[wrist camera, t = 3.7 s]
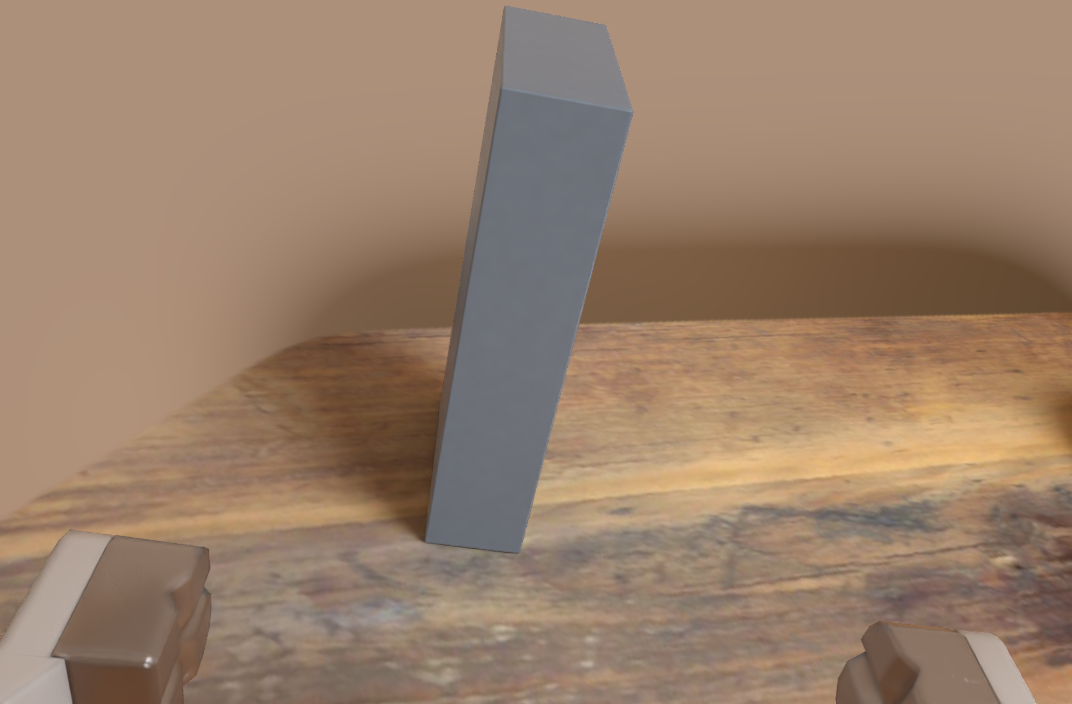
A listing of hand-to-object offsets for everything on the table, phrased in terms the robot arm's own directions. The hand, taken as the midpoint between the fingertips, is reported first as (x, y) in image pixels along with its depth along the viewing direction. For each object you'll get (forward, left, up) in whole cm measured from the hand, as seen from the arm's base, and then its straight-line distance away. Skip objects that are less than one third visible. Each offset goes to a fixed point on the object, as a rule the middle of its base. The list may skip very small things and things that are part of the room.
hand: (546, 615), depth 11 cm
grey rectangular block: (-8, +8, -8) cm, 15 cm away
